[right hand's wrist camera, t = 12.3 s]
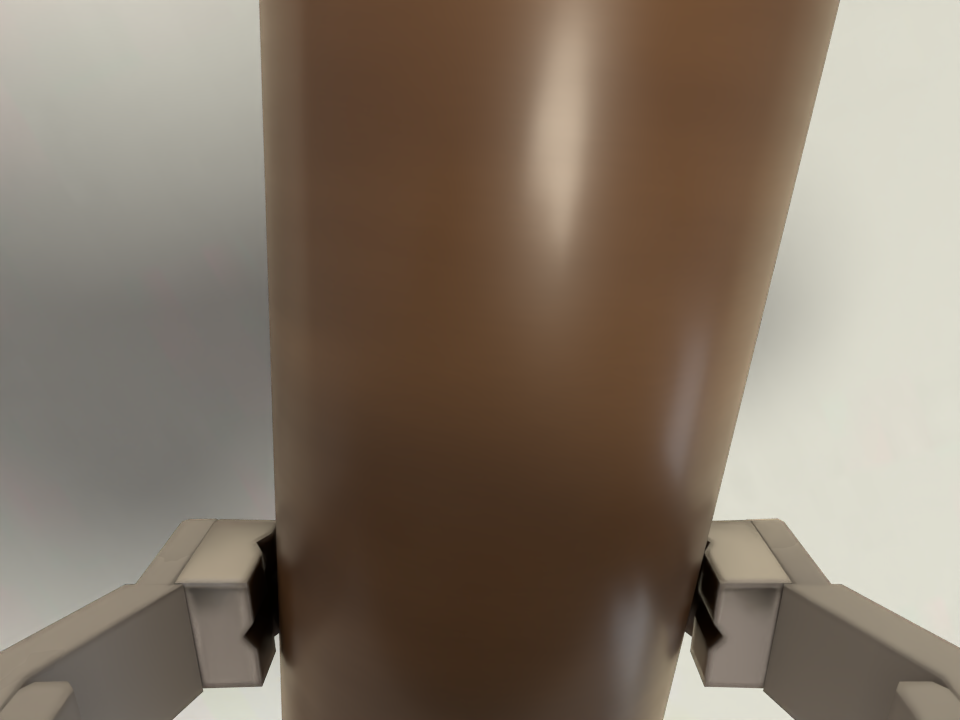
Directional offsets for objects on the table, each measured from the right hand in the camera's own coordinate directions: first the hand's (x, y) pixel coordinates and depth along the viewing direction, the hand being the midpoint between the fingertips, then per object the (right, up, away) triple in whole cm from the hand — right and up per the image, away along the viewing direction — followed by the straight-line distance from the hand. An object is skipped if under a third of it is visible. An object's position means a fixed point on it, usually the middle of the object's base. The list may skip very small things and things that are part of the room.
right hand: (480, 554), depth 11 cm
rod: (+1, +8, 0) cm, 9 cm away
